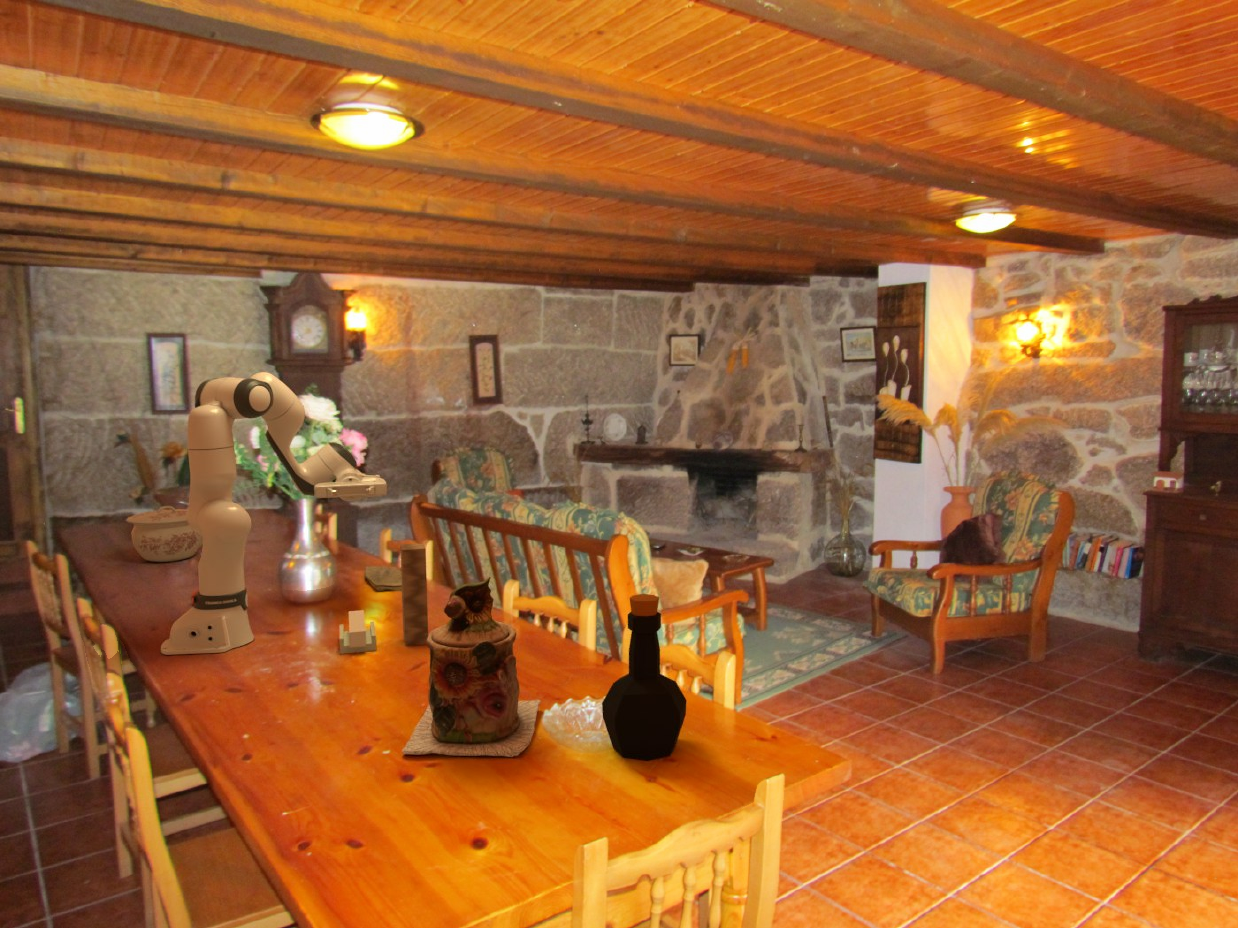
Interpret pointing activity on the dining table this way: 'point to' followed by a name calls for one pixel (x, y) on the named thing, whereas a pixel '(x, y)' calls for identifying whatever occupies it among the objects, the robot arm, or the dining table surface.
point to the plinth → (414, 594)
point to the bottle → (644, 692)
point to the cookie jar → (473, 684)
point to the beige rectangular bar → (357, 629)
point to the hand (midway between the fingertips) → (351, 492)
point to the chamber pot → (164, 535)
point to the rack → (346, 647)
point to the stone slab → (384, 578)
